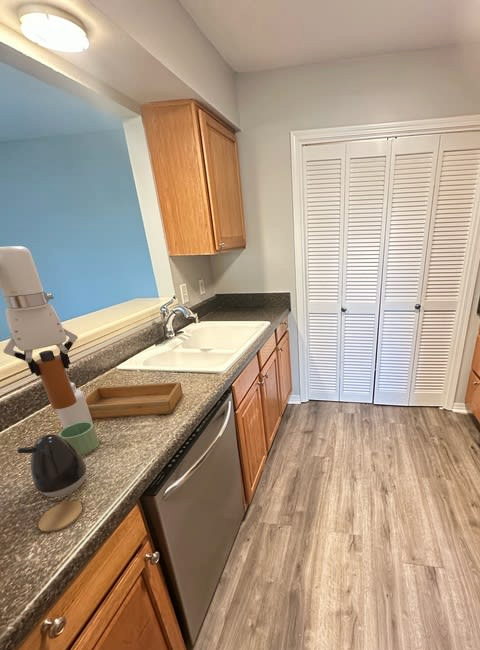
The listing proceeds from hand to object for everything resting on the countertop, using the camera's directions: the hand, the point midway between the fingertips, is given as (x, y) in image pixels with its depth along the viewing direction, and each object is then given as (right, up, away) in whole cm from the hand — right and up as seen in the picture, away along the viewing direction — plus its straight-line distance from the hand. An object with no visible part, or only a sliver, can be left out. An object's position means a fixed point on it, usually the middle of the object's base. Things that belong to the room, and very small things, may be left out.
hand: (52, 370), depth 84 cm
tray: (+5, -14, +32) cm, 35 cm away
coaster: (+12, -32, -13) cm, 37 cm away
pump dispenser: (+7, -29, -5) cm, 30 cm away
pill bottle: (-7, -19, +21) cm, 29 cm away
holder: (+1, -23, +10) cm, 25 cm away
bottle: (0, -9, +4) cm, 10 cm away
